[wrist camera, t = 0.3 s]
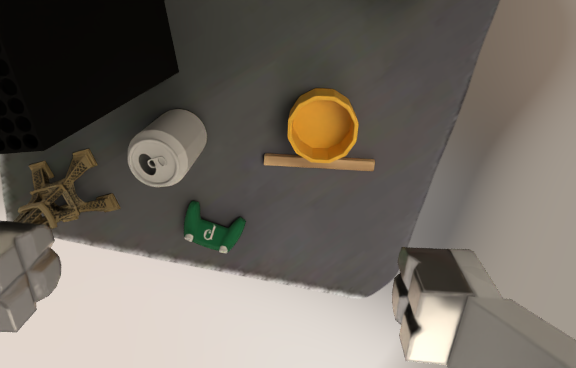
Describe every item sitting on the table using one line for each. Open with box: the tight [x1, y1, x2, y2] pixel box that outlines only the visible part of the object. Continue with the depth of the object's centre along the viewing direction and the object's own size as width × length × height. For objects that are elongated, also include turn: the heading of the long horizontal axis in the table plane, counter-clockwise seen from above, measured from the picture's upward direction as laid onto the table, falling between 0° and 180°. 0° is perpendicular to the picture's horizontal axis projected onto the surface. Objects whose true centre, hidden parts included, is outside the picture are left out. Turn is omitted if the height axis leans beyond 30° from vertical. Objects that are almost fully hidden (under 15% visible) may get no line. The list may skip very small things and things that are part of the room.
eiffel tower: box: [13, 149, 120, 229], centre depth 51 cm, size 11×11×25 cm
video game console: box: [0, 0, 179, 154], centre depth 38 cm, size 15×15×30 cm
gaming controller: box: [184, 201, 246, 253], centre depth 62 cm, size 9×4×6 cm
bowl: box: [288, 88, 359, 163], centre depth 53 cm, size 9×9×5 cm
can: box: [128, 109, 207, 187], centre depth 52 cm, size 8×8×12 cm
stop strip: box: [264, 153, 375, 171], centre depth 58 cm, size 2×16×1 cm, turn 88°
